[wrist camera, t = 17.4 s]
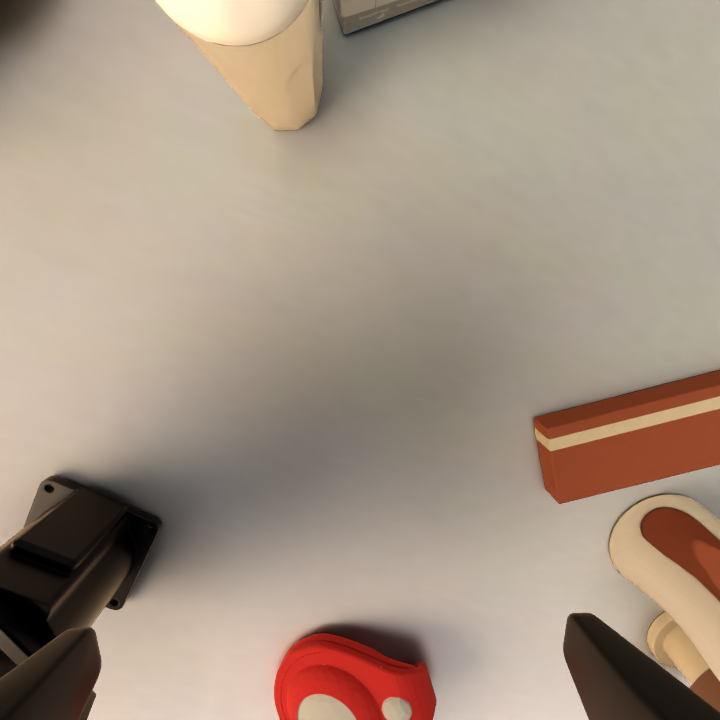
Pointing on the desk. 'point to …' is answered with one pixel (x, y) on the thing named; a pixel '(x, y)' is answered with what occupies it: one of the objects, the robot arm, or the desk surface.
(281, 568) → the desk surface
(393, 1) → the label tape box
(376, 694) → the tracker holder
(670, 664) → the mushroom
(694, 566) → the beer glass
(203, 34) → the milkshake
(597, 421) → the striped reddish-brown bar
